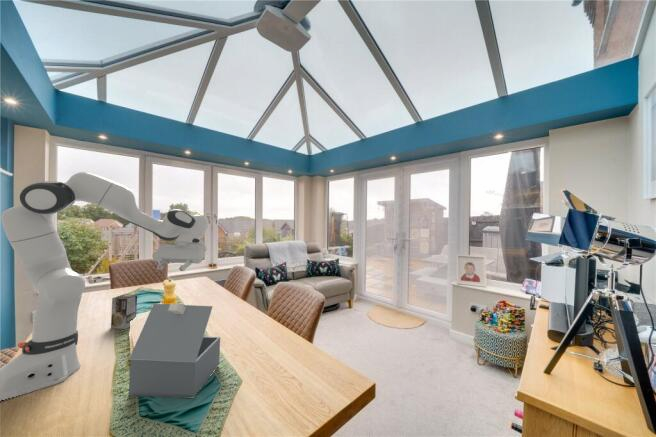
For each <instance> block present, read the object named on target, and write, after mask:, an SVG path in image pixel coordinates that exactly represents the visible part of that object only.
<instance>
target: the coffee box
mask: <svg viewBox="0 0 656 437" xmlns="http://www.w3.org/2000/svg"><path fill="white" fill-rule="evenodd" d="M137 305H138V295H135V294H134V295H133V294H120V295H118V296H116V297H115V296H114V297H112V298H111V320H110V328H111V329H119V330H120V329H121V330H122V329H123V330H127V329H129V328H131V327H130V321H131V320H133V319H134V318H135V317H136V318H137V307H138V306H137Z"/></svg>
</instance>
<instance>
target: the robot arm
mask: <svg viewBox="0 0 656 437" xmlns="http://www.w3.org/2000/svg"><path fill="white" fill-rule="evenodd" d="M19 201H20V203H21V205H20V204H19V205H15V206H12V207H10V208H9V207H8V209H5V210H4V211H3V212H2V213H1V214H0V215H1V216H0V219H1V224H2V227H3V231H4V233H5V236H6V238H7V240H8V242H9V243H10V246H11V247H12V249H13V251H14V253H15V254H16V257H17V258H18V260H19V262H20V264H21V266H22V268H23V270H24V273H25V275H26V277H27V280H28V282H29V283H30V285H31V287H32V289H33V291H34V292H35V293H37V295H38V300H37V305H36V309H35V313H34V315H33V316H34V317H33V319H32V332H31V333H32V334H31V339H30V340H28V341H25V340H21V341H20V342H19V343H17V347H18V348H19V349H21V353H20V354H19V355H17V356H15V357H14V358H12V359H11V360H10V361H9V362H7V363H6V364H4V365H3V366H1V367H0V401H1V400H4V399H7V400H9V399H8V398H10V399H13V398H12V397H14V398H16V396H17V397H19V396H18V395H20V396H23V395H25V393H26V394H29V393H31V392H32V393H33V392H34V391H37V390H41V389H44V388H47V387H50V386H53V385H56V384H60V383H63V382H65V381H66V379H67V378H68V377H69V376H70V375H72V374H74V373H76V371H77V370H79V368H80V367H81V364H80V361H79V358H78V357H79V356H78V352H77V345H78V342H79V330H77V329H78V328H77V327H78V326H77V325H78V312H79V308H80V304H81V301H82V298H83V293H84V291H85V288H86V281H85V279H84V277H83V276H82V275H81V274H80V273H78V272H76V271H74V270H73V269H72V267H71V264H70V261H69V259H68V255H67V250H66V248H65V246H64V244H63V241H62V240H61V237H60V235H59V234H58V231H57V229H56V228H55V225H54V223H53V220H52V217H53V215H54V214H57V213H59V212H63V211H65V210H66V209H68V208H70V207H71V206H72V205H74V203H75V202H86V203H87V204H88V203H89V204H92V205H94V206H97V207H99V208H102V209H105V210H107V211H108V212H111V213H113V214H115V215H116V216H117V217H119V218H121V219H122V220H124V221H126V222H129V223H131V224H133V225H135V226H137V227H139V228H142V229H143V230H146V231H147V232H151V233H152V234H154V235H155V236H156V237H157V238H159V239H160V240H163V241H167V243H164V244H162V245H160V247H158V248H157V250H156V251H155V252H154V253H153V255H152V258H153V260H154V261H155V262H156V263H157V264H158V265H157V266H156V269H157V270H158V271H162V270H163V269H164V268H165V266H164V264H165V263H175V264H177V263H179V264H182V265H180V267H179V268H178V269H179V271H180V272H185V271H186V269H187V268H189V267H190V266H191V265H192V264H200V263H202V261H204V258H205V255H206V252H207V251H208V249H207V246H206V244H205V243H204V241H203V239H202V238H203V237H204V235H205V234H206V232H207V229H208V225H209V223H208V220H207V218H206V217H205V216H204V215H200V214H192V213H188V212H186V211H185V210H183V209H179V208H172V209H171V210H169V211H168V212H167V213H166V215H165V216H164V217H163V219H162V220H161V219H158V218H155V217H154V216H151V215H149V214H147V213H145V212H143V211H141V210H140V209H139V207H138V206H137V203H136V197H135V194H134V192H133V191H132V190H131V188H128V187H127V186H125V185H123V184H120V183H119V182H116V181H114V180H111V179H109V178H105V177H102V176H100V175H97V174H93V173H89V172H84V171H82V172H81V171H79V172H77V173H74V174H73V175H72V176H70V178H69V179H68V180H67V181H66V182H61V181H56V180H55V181H53V180H48V181H46V180H45V181H40V182H35V183H32V184H29V185H27V186H26V187H24V188H23V189H22V190H21V192H20V194H19ZM169 241H170V242H171V241H174V242H173V243H170V242H169ZM22 394H23V395H22ZM4 401H5V400H4ZM1 402H2V401H1Z"/></svg>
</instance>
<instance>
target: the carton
mask: <svg viewBox="0 0 656 437" xmlns="http://www.w3.org/2000/svg"><path fill="white" fill-rule="evenodd" d="M220 350H221V336H205V335H204V336H203V340H202V343H201V346H200V349H199V353H198V356H197V359H196V362H182V361H160V360H139V359H130V366H129V378H128V380H129V381H128V396H131V397H132V396H133V397H137V396H138V397H149V398H150V397H151V398H152V397H153V398H154V397H155V398H171V397H183V398H182V399H187V398H186V397H194V396H195V395H196V394H197V392H198V391H199V390H200V388H201V387H202V386H203V385H204V383H205V382H206V381H207V380H208V378H209V377H210V375H211V374H212V373H213V371H214V370H215V369H216V368H217V366H218V365H219V366H220ZM217 369H218V368H217ZM213 374H214V373H213ZM210 378H211V377H210ZM210 378H209V379H210ZM208 381H209V380H208ZM208 381H207V382H208ZM207 382H206V383H207ZM204 386H205V385H204ZM204 386H203V387H204ZM203 387H202V388H203ZM200 391H201V390H200ZM200 391H199V392H200ZM199 392H198V393H199ZM197 395H198V394H197ZM197 395H196V396H197ZM196 396H195V397H196ZM184 397H185V398H184Z"/></svg>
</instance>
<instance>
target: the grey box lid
mask: <svg viewBox="0 0 656 437" xmlns="http://www.w3.org/2000/svg"><path fill="white" fill-rule="evenodd" d="M212 310H213V306H212V305H193V304H181V303H175V302H171V303H169V304H167V303H153V305H152V307H151V308H150V311H149V313H148V316H147V318H146V320H145V323H144V325H143V327H142V329H141V332H140V334H139V336H138V338H137V340H136V343H135V344H134V347H133V349H132V352H131V354H130V356H129V358H128V359H129V360H131V359H139V360H160V361H182V362H196V359H197V356H198V353H199V349H200V346H201V343H202V340H203V336H205V333H206V329H207V327H208V323H209V320H210V317H211V313H212Z"/></svg>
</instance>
